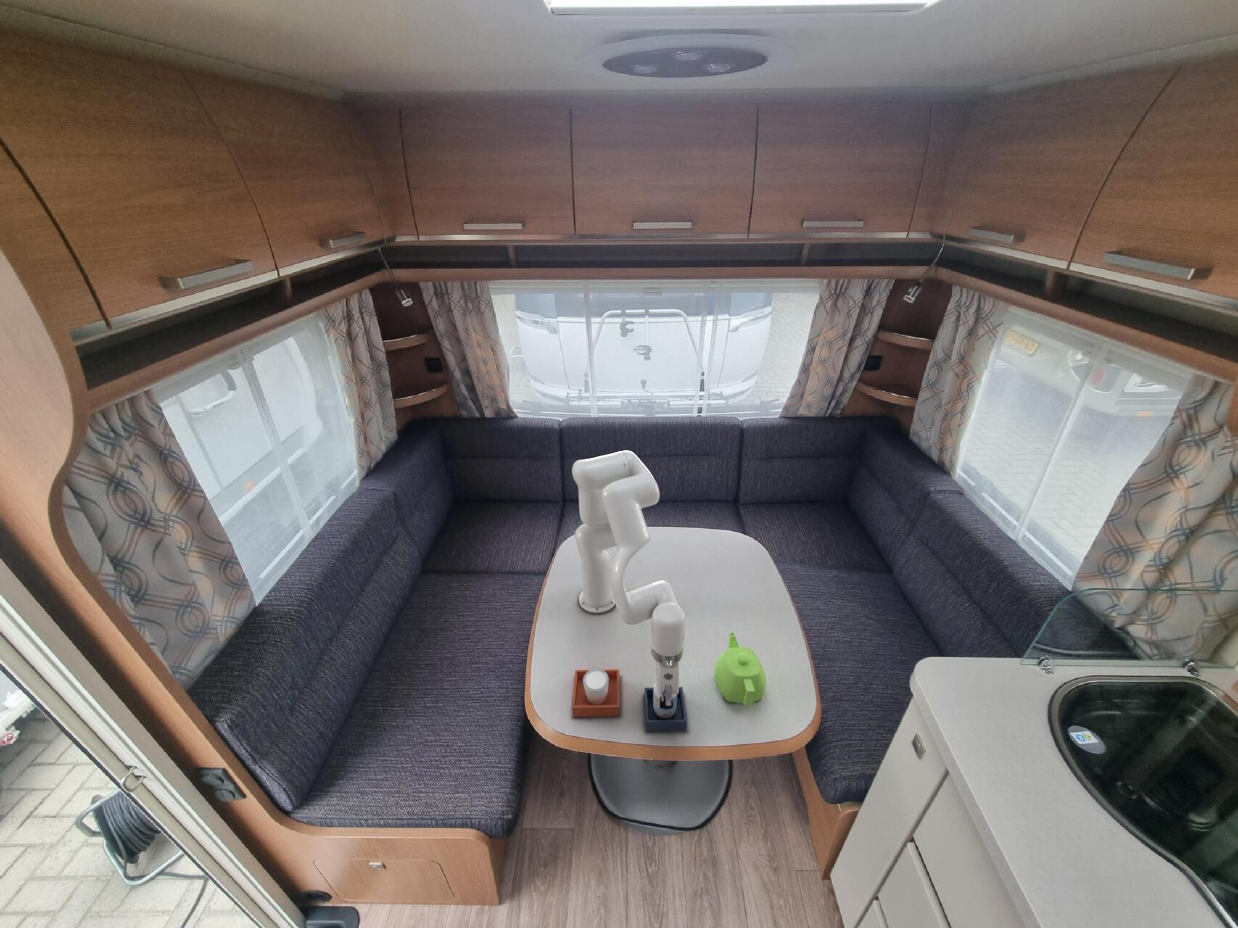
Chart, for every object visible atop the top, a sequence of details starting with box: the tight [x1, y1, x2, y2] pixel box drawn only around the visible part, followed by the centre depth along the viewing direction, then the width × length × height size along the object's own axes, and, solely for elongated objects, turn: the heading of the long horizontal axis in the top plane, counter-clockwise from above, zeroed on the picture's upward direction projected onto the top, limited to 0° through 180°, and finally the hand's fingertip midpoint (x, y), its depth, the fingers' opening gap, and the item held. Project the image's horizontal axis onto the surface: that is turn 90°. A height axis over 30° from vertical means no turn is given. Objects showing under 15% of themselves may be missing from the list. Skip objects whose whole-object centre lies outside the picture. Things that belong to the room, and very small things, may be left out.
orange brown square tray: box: [571, 668, 621, 718], centre depth 132 cm, size 11×12×4 cm
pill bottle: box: [653, 679, 677, 719], centre depth 125 cm, size 6×6×11 cm
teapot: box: [714, 631, 767, 708], centre depth 132 cm, size 20×13×13 cm
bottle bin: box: [643, 686, 688, 732], centre depth 128 cm, size 10×10×4 cm
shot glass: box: [583, 668, 609, 705], centre depth 131 cm, size 7×7×7 cm
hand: (665, 694), depth 125 cm, fingers closed on pill bottle, 6 cm apart
